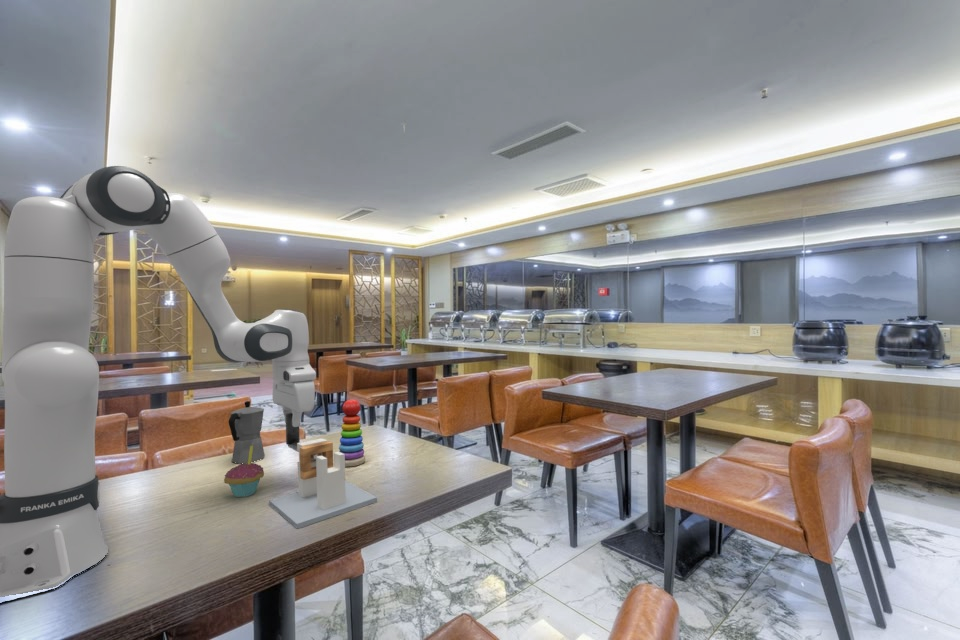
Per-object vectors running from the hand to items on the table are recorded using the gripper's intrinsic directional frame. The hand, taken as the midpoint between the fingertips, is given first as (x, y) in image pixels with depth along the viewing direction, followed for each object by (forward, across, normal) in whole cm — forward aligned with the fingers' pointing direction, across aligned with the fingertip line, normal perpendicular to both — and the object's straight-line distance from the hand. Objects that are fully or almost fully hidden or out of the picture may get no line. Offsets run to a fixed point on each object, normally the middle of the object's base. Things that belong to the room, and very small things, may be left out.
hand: (292, 424), depth 112 cm
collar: (+9, +15, 0) cm, 18 cm away
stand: (+15, +18, 0) cm, 24 cm away
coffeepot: (+15, -31, -3) cm, 35 cm away
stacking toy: (+15, -4, +18) cm, 24 cm away
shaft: (+6, +7, 0) cm, 9 cm away
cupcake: (+15, -2, -11) cm, 19 cm away
